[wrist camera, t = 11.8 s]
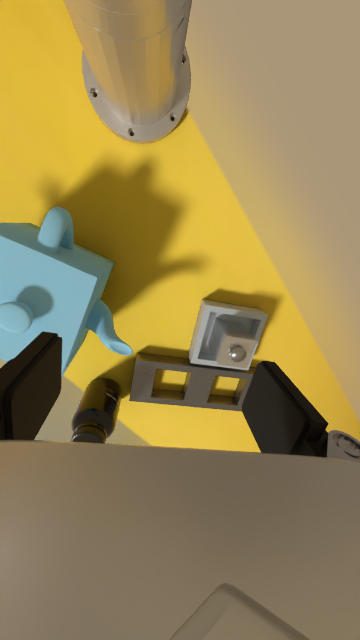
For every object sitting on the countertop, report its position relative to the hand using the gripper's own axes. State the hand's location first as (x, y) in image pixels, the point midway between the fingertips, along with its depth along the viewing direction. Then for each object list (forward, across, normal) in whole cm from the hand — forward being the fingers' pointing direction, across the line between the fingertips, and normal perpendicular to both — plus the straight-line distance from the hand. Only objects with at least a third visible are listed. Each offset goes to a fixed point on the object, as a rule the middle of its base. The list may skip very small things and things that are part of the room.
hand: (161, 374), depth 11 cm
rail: (+28, -11, +20) cm, 36 cm away
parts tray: (+28, -14, +9) cm, 33 cm away
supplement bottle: (+28, +6, +25) cm, 38 cm away
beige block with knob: (+28, -14, +9) cm, 32 cm away
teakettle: (+28, +14, +6) cm, 32 cm away
